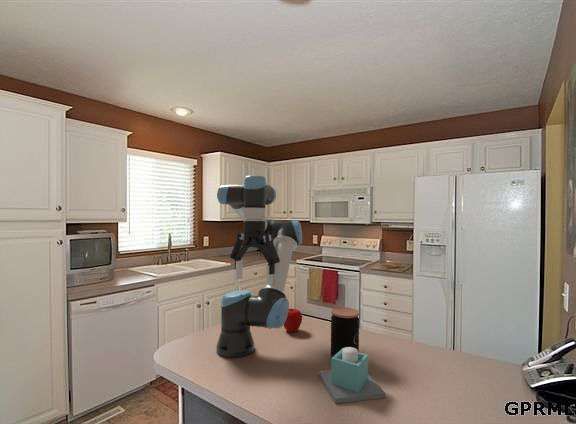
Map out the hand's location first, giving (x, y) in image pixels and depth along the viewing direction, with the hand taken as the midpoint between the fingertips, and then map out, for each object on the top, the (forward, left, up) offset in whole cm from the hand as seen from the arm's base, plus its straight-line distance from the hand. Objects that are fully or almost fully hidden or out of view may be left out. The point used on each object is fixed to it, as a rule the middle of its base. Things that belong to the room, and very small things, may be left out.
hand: (253, 281), depth 108 cm
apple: (-36, +22, -32) cm, 53 cm away
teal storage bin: (+14, +30, -30) cm, 45 cm away
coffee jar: (-5, +36, -32) cm, 48 cm away
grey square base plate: (+14, +30, -32) cm, 46 cm away
